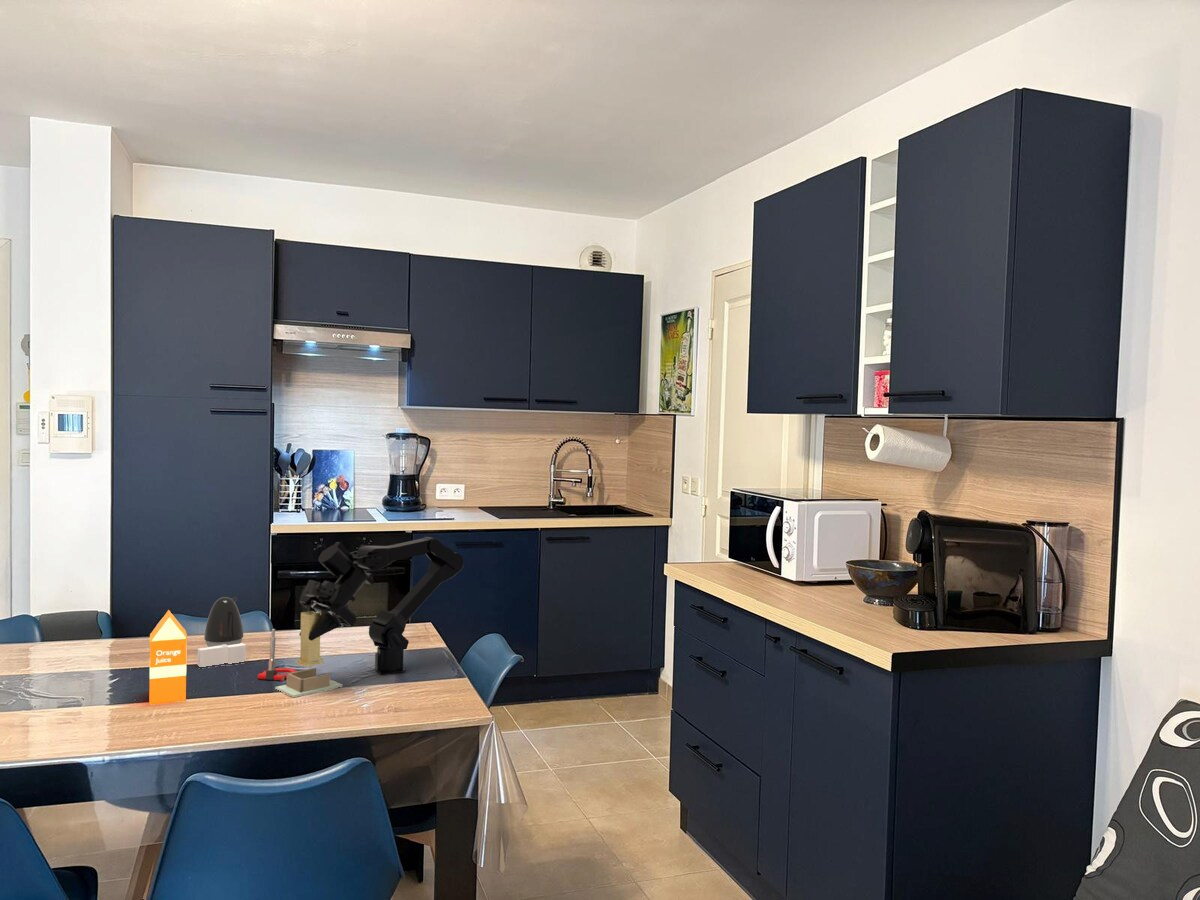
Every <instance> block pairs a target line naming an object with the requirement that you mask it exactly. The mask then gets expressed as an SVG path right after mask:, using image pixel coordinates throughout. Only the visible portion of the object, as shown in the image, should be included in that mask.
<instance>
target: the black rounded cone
mask: <svg viewBox="0 0 1200 900" xmlns="http://www.w3.org/2000/svg"><path fill="white" fill-rule="evenodd" d="M237 600H238V597H237V596H234V597H233V598H230V597H227V596H222V597H220V598H218V599H217V600H216V601H215V602H214V603H213V605H212V607H211V609H210V611H209V614H208V618H207V620H206V624H205V628H204V629H205V630H204V637H203V638H204V641H205V643H206V647H213V646H219V645H224V644H226V645H234V644H241V643H242V640H243V639H244V627H243V626H244V625H243V622H242V621H243V620H242V617H241V614H240V611H239V608H238V606H237V604H236V601H237Z"/></svg>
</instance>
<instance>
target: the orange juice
mask: <svg viewBox="0 0 1200 900" xmlns="http://www.w3.org/2000/svg"><path fill="white" fill-rule="evenodd" d="M187 640H188V635H187V631H186V629H185V628H184V627H183V626H182V624H181V623H180V622H179V621H178V620H177V619H176V617H175V615H173V613H171V611H170V610H169V609H168V610H167V611H166V613H165V614H164V616H163V617H162V618H161V619H160V621H159V622H158V623H157V624H156V625H155V627H154V628H153V630H152V631H151V633H150V634H149V699H148V700H149V705H150V706H152V705H153V706H154V705H160V704H170V703H169V702H171V703H178V702H177V701H180V702H186V701H185V700H186V699H187V697H186V696H187V692H186V691H187V690H186V689H187V655H188V654H187V653H188V652H187V648H188V647H187V646H188V645H187Z"/></svg>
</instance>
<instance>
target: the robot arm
mask: <svg viewBox="0 0 1200 900" xmlns="http://www.w3.org/2000/svg"><path fill="white" fill-rule="evenodd" d="M421 555H426V556H427V559H429V560H430V562H429V565H428V569H427V572H426V573H425V574H423V576H422V578H420V579H419V581H418V582H417V583H416V584H415V585H414V586H413V587H412V588H411V589H410V591H409V592H408V593H406V595H405V596H404V597H403V598H402V599H401V600H400V601H399V602H398V603H397V605H395V607H394V608H393V609H391V610H389V611H387V610H383V609H382V610H380V611H379V612H378V614H377V615H376V617H375V618H373V619H371V623H370V625H369V626H368V637H369V638H370V639H371V640H372V642H373V645H374V646H375V647H377V648H376V649H377V650H376V653H375V655H374V669H375V670H376V671H377V672H378V673H379V674H380V675H388V674H389V675H390V674H396V673H397V674H398V673H405V672H406V669H405V668H404V650H407V648H408V645H409V643H410V642H409V640H408V639H407V638H406V637H405V636H404V635H403V634H404V632H405V631H406V630H405V629H406V625H407V622H408V621H409V619H410V618H411V617H412V616H413V615H414V614H415V612H417V610H418V609H419V608H420V607H421V606H422V605H423V604H424V602H425V601H426V600H427V599H428V598H429V597H430V596H431V595H432V593H434V591H436V589H437V588H438V587H439V586H440V585H441V584H442V583H445V582H446V581H448V580H449V579H452V578H453V577H455V576H456V575H457V574H459V572H461V571H462V569H463V568H464V558H463V556H462V555H461V554H460V553H459V552H454V550H452V549H450V548H449V547H447V546H446V545H444V544H443V543H441V542H440V541H439V540H438V539H437V538H436V537H430V536H424V537H422V538H418V539H413V540H409V541H405V542H400V543H394V544H390V545H363V546H360V547H359V548H357V550H356V551H352V552H349V550H348V549H346V547H345V546H344V544H342V542H338V541H336V542H335V543H334V544H332V545H330V546H328V547H326V548H325V549H323V550H322V551H321V553H320V554H319V556H318V562H319V563H320V564H321V565H322V566H323V567H324V568H325V569H326V570H327V571H328V572H329V573H330V574H331V575H333V576H334V577H338V578H337V580H336V581H335V582H333V581H329V580H328V581H327V580H324V581H323V582H320V581H315V580H313V579H308V581H307V584H306V587H305V590H304V593H308V594H303V596H301V598H300V599H299V603H300V604H301V605H303V606H304V608H305V609H306V612H308V611H314V612H317V613H320V620H319V622H318V623H317V625H316V626H315V628H314V629H313V631H312V632H311V634H310V635H309V637H308V639H309V640H311V641H312V640H314V639H316V638H318V637H319V636H320V637H322V636H324V634H327V633H329V632H331V631H333V630H336V629H337V628H342V626H343V625H342V622H343V621H344V625H345V626H346V627H349V628H352V627H353V625H354V624H355V623H356V621H357V615H356V614H355V613H354V612H353V611H351V609H350V608H349V607H347V605H348V604H349V603H350V602H352V603H354V602H355V601H356V598H355V595H356V594H357V593H358V591H359V590H360V589H361V587H362V586H364V584H367V585H371V586H372V585H374V578H373V577H374V575H373V573H370V572H367V571H365V569H366V570H371V571H379V570H381V569H384V568H386V567H387V566H389V565H390V564H392V563H393V562H396V561H398V560H399V561H400V560H403V559H404V560H405V559H408V558H412V557H413V558H414V557H418V556H421ZM355 564H356V565H355ZM339 576H340V577H339ZM299 636H300V637H301V631H299Z"/></svg>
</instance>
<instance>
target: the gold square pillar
mask: <svg viewBox="0 0 1200 900" xmlns="http://www.w3.org/2000/svg"><path fill="white" fill-rule="evenodd" d="M319 620H320V613H317V612H314V611H308V612H307V611H302V612H300V632H301V636H300V651H299V652H300V653H299V654H300V657H299V658H298V659H296V664H297V665H298V666H301V667H303V668H306V667H312V666H316V665H320V664H321V665H322V664H324V658H323V657H321V636H319V637H318V638H316V639H314V640H312V641H311V640H309V639H308V637H309V635H310V634H311V632H312V631H313V629H314V628H315V626H316V625H317V623H318V622H319Z"/></svg>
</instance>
